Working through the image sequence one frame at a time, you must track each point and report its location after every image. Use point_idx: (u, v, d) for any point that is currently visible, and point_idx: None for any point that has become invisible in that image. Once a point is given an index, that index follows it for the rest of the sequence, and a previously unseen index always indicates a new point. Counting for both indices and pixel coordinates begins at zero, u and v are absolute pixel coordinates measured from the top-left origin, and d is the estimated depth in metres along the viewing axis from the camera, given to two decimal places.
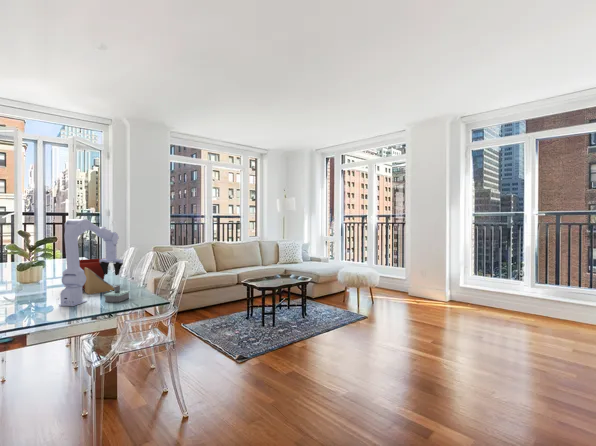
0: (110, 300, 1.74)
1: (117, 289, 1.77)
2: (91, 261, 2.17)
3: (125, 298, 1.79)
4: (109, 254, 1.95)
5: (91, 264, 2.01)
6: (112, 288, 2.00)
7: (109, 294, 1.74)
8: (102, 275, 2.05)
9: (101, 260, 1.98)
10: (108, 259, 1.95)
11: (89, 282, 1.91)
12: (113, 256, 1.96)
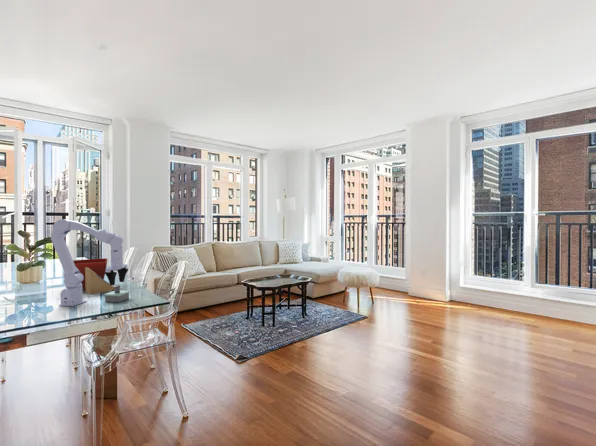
0: (110, 300, 1.74)
1: (117, 289, 1.77)
2: (91, 261, 2.17)
3: (125, 298, 1.79)
4: None
5: (91, 264, 2.01)
6: (113, 288, 2.01)
7: (109, 294, 1.74)
8: (102, 275, 2.05)
9: None
10: None
11: (90, 282, 1.92)
12: (111, 263, 1.75)
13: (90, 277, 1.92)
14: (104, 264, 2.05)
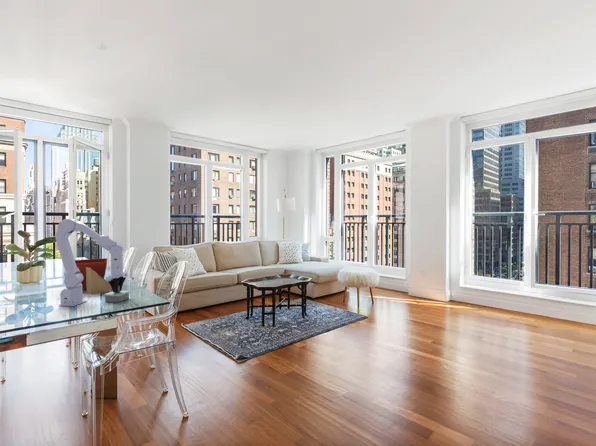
0: (110, 300, 1.74)
1: None
2: (91, 261, 2.17)
3: (125, 298, 1.79)
4: None
5: (91, 264, 2.01)
6: None
7: (109, 294, 1.74)
8: (102, 275, 2.05)
9: None
10: None
11: (91, 282, 1.92)
12: (111, 271, 1.75)
13: (91, 277, 1.92)
14: (104, 264, 2.05)
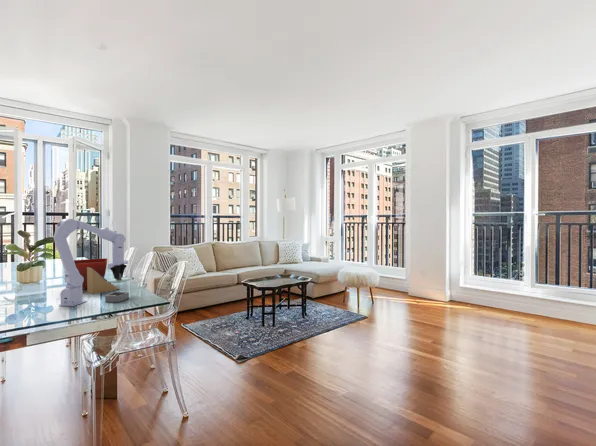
0: (110, 300, 1.74)
1: None
2: (91, 261, 2.17)
3: (125, 298, 1.79)
4: None
5: (91, 264, 2.01)
6: (115, 288, 2.01)
7: (111, 281, 1.84)
8: (102, 275, 2.05)
9: None
10: None
11: (92, 282, 1.92)
12: (113, 259, 1.85)
13: (93, 277, 1.92)
14: (104, 264, 2.05)
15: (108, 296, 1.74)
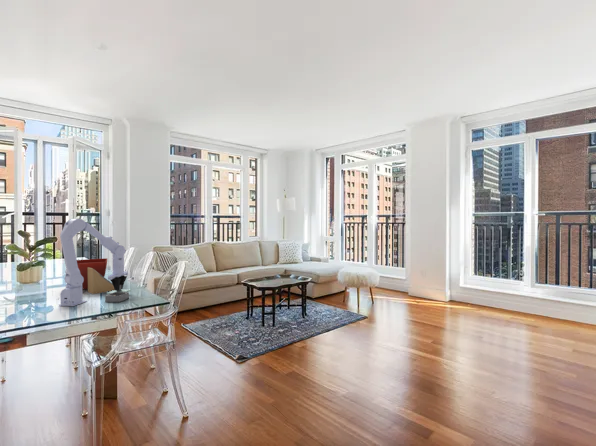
0: (110, 300, 1.74)
1: (119, 288, 1.87)
2: (91, 261, 2.17)
3: (125, 298, 1.79)
4: None
5: (91, 264, 2.01)
6: None
7: None
8: (102, 275, 2.05)
9: None
10: None
11: (93, 282, 1.92)
12: (113, 271, 1.86)
13: (94, 277, 1.92)
14: (104, 264, 2.05)
15: (108, 296, 1.74)
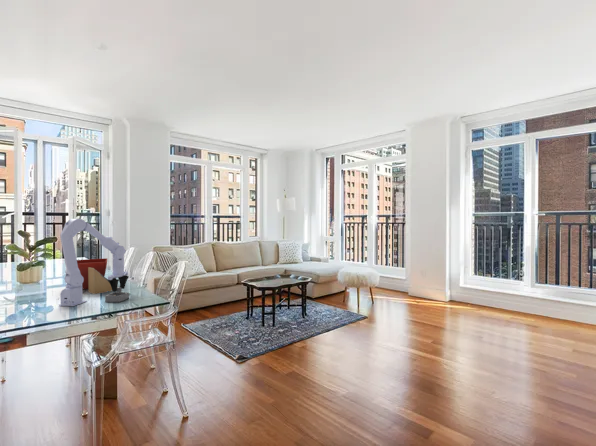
0: (110, 300, 1.74)
1: (119, 291, 1.87)
2: (91, 261, 2.17)
3: (125, 298, 1.79)
4: None
5: (91, 264, 2.01)
6: None
7: None
8: None
9: None
10: None
11: (94, 282, 1.92)
12: (113, 271, 1.86)
13: (94, 277, 1.92)
14: (104, 264, 2.05)
15: (108, 296, 1.74)
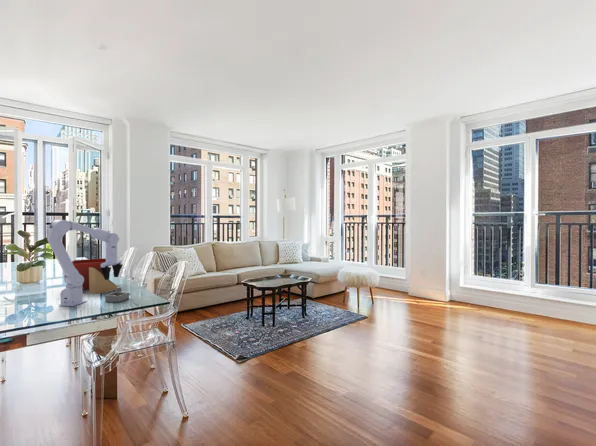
0: (110, 300, 1.74)
1: (119, 291, 1.87)
2: (91, 261, 2.17)
3: (125, 298, 1.79)
4: None
5: (91, 264, 2.01)
6: None
7: None
8: None
9: None
10: None
11: (95, 282, 1.92)
12: (106, 259, 1.84)
13: (95, 277, 1.92)
14: None
15: (108, 296, 1.74)
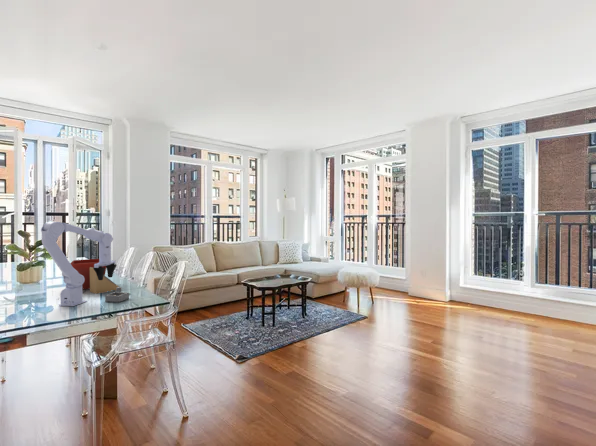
0: (110, 300, 1.74)
1: (119, 291, 1.87)
2: (91, 261, 2.17)
3: (125, 298, 1.79)
4: None
5: (91, 264, 2.01)
6: None
7: None
8: None
9: None
10: None
11: (96, 282, 1.93)
12: (99, 259, 1.82)
13: (96, 277, 1.93)
14: None
15: (108, 296, 1.74)
